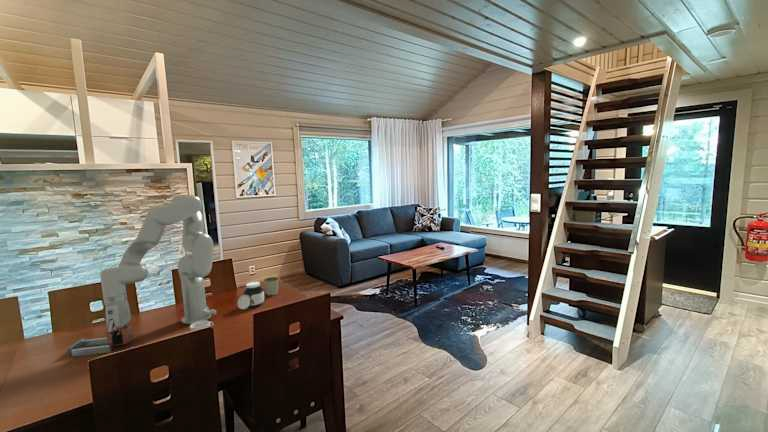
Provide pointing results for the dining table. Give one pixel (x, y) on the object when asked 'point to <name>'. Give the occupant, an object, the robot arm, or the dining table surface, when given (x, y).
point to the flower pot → (271, 285)
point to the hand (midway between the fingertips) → (121, 340)
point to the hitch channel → (79, 346)
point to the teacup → (200, 325)
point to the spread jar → (251, 296)
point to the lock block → (122, 334)
